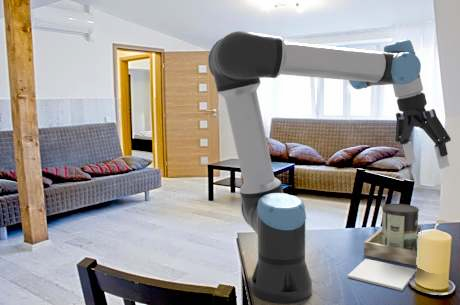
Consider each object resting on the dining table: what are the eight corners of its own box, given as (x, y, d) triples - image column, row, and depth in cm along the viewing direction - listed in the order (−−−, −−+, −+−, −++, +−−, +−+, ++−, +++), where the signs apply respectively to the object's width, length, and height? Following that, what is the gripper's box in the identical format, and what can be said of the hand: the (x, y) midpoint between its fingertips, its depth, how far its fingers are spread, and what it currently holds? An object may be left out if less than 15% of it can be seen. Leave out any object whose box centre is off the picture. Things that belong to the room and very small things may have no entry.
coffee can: (412, 247, 135) (414, 203, 133) (420, 259, 125) (422, 212, 123) (378, 245, 137) (379, 202, 135) (383, 257, 127) (384, 211, 125)
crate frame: (363, 254, 130) (364, 242, 129) (380, 239, 142) (380, 228, 142) (420, 266, 120) (420, 253, 120) (432, 249, 133) (433, 237, 132)
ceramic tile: (347, 277, 114) (347, 275, 114) (365, 260, 125) (365, 258, 125) (402, 290, 106) (402, 288, 106) (416, 271, 117) (416, 269, 117)
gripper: (453, 87, 111) (471, 164, 114) (393, 94, 135) (409, 158, 138) (430, 95, 109) (449, 173, 112) (373, 101, 133) (390, 165, 136)
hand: (427, 165), depth 125 cm, fingers open, 13 cm apart
